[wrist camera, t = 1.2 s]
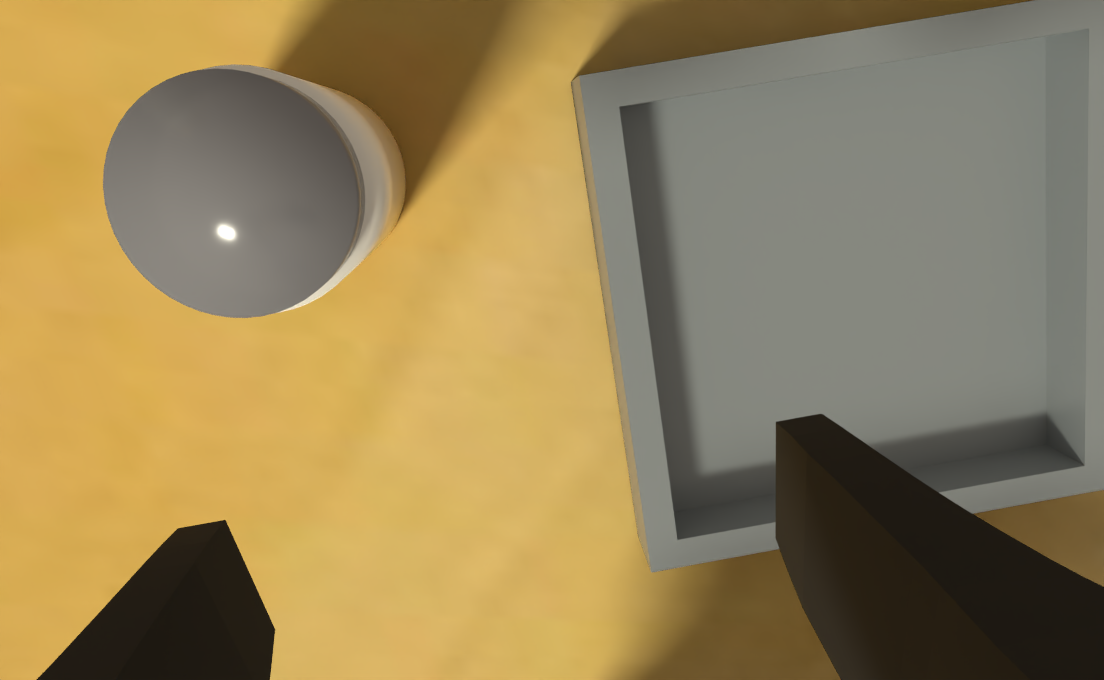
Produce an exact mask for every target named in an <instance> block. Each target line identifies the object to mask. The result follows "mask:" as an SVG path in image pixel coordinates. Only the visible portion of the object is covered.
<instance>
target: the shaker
mask: <svg viewBox="0 0 1104 680" xmlns="http://www.w3.org/2000/svg"><path fill="white" fill-rule="evenodd" d="M103 189H104V199H105V205H106V209H107V214H108V218H109V221H110V224H111V226H112V229H113V232H114V234H115V236H116V238H117V240H118V242H119V244H120V246H121V248H122V250H123V251H124V252H125V254H126V255H127V257H128V258H129V260H130V261H131V263H132V264H133V265H134V266H135V267H136V268H137V270H138V271H139V272H140V273H141V274H142V275H143V276H144V277H145V278H146V279H147V280H148V281H149V282H150V283H151V284H153V285H154V286H155V287H156V288H157V289H159V290H160V291H162V292H163V293H164V294H166V295H167V296H169V297H170V298H172V299H174V300H176V301H178V302H180V303H181V304H183V305H186V306H188V307H191V308H193V309H195V310H198V311H201V312H205V313H209V314H212V315H217V316H224V317H233V318H249V317H259V316H265V315H269V314H273V313H279V312H283V311H287V310H292V309H295V308H298V307H300V306H303V305H306V304H308V303H310V302H312V301H314V300H316V299H318V298H319V297H321V296H323V295H324V294H325V293H327V292H328V291H330V290H331V289H332V288H334V287H335V286H336V285H337V284H338V283H339V282H340V281H341V280H343V279H344V278H345V277H346V276H347V275H348V274H349V273H350V272H351V271H352V270H354V269H355V268H356V267H357V266H358V265H359V264H360V263H361V262H362V261H363V260H365V259H366V258H367V257H368V256H369V255H370V254H371V253H372V252H373V251H374V250H376V249H377V248H378V247H379V246H380V245H381V244H382V243H383V242H384V241H385V240H386V238H387V237H388V236H389V234H390V233H391V232H392V230H393V228H394V227H395V225H396V223H397V221H398V219H399V216H400V214H401V211H402V208H403V204H404V200H405V192H406V175H405V168H404V163H403V159H402V155H401V152H400V150H399V147H398V145H397V142H396V140H395V139H394V137H393V135H392V133H391V132H390V130H389V129H388V127H387V126H386V125H385V123H384V122H383V121H382V120H381V119H380V118H379V117H378V116H377V114H376V113H375V112H374V111H372V110H371V109H370V108H369V107H367V106H366V105H365V104H364V103H362V102H360V101H359V100H357V99H356V98H354V97H352V96H350V95H348V94H346V93H343V92H341V91H338V90H334V89H331V88H328V87H325V86H322V85H319V84H315V83H312V82H309V81H306V80H303V79H300V78H297V77H293V76H290V75H287V74H284V73H281V72H277V71H274V70H271V69H268V68H263V67H257V66H251V65H224V66H215V67H211V68H206V69H202V70H197V71H192V72H188V73H184V74H180V75H178V76H175V77H173V78H170V79H168V80H166V81H164V82H162V83H160V84H159V85H157V86H155V87H153V88H152V89H150V90H149V91H148V92H147V93H145V94H144V95H143V96H141V97H140V98H139V99H138V100H137V101H136V102H135V103H134V104H133V105H132V106H131V107H130V109H129V110H128V111H127V112H126V114H125V115H124V117H123V118H122V120H121V121H120V122H119V124H118V126H117V128H116V130H115V132H114V134H113V136H112V138H111V141H110V144H109V147H108V150H107V154H106V160H105V165H104V177H103Z"/></svg>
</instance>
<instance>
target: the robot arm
mask: <svg viewBox="0 0 1104 680" xmlns="http://www.w3.org/2000/svg"><path fill="white" fill-rule="evenodd" d="M775 538H776V541H777V543H778V546H779V549H780V551H781V554H782V557H783V559H784V562H785V564H786V567H787V570H788V572H789V575H790V577H791V580H792V582H793V585H794V587H795V590H796V592H797V595H798V597H799V600H800V602H801V605H802V607H803V609H804V611H805V613H806V615H807V617H808V619H809V621H810V622H811V624H812V626H813V628H814V630H815V632H816V634H817V636H818V638H819V639H820V641H821V643H822V645H823V647H824V649H825V651H826V652H827V654H828V656H829V658H830V660H831V662H832V664H833V666H834V667H835V669H836V671H837V673H838V675H839V677H840V678H841V680H1104V587H1103V586H1101V585H1098V584H1096V583H1094V582H1092V581H1090V580H1088V579H1086V578H1084V577H1082V576H1081V575H1079V574H1077V573H1075V572H1073V571H1071V570H1069V569H1067V568H1066V567H1064V566H1062V565H1060V564H1058V563H1056V562H1054V561H1052V560H1051V559H1049V558H1047V557H1045V556H1044V555H1042V554H1040V553H1038V552H1037V551H1035V550H1033V549H1031V548H1030V547H1028V546H1026V545H1024V544H1023V543H1021V542H1019V541H1017V540H1016V539H1014V538H1012V537H1010V536H1009V535H1007V534H1005V533H1004V532H1002V531H1000V530H998V529H997V528H995V527H993V526H992V525H990V524H988V523H987V522H985V521H983V520H982V519H980V518H978V517H977V516H975V515H974V514H972V513H970V512H969V511H967V510H965V509H964V508H962V507H961V506H959V505H957V504H956V503H954V502H953V501H951V500H950V499H948V498H946V497H945V496H943V495H942V494H940V493H939V492H937V491H936V490H934V489H932V488H931V487H929V486H928V485H926V484H925V483H923V482H922V481H920V480H919V479H917V478H916V477H914V476H913V475H911V474H910V473H908V472H907V471H905V470H904V469H902V468H901V467H899V466H898V465H896V464H895V463H893V462H892V461H891V460H889V459H888V458H886V457H885V456H883V455H882V454H880V453H879V452H877V451H876V450H874V449H873V448H872V447H870V446H869V445H867V444H866V443H864V442H863V441H861V440H860V439H859V438H857V437H856V436H854V435H853V434H851V433H850V432H848V431H847V430H845V429H844V428H843V427H841V426H840V425H838V424H837V423H835V422H834V421H832V420H831V419H829V418H828V417H826V416H825V415H823V414H816V415H811V416H805V417H799V418H794V419H788V420H783V421H777V422H776V523H775ZM274 634H275V628H274V626H273V624H272V622H271V620H270V617H269V615H268V613H267V611H266V609H265V606H264V604H263V602H262V600H261V598H260V595H259V593H258V591H257V589H256V587H255V584H254V582H253V580H252V578H251V576H250V573H249V571H248V569H247V567H246V564H245V562H244V560H243V558H242V556H241V553H240V551H239V549H238V547H237V545H236V542H235V540H234V538H233V536H232V534H231V531H230V529H229V527H228V525H227V523H226V520H223V521H217V522H211V523H206V524H200V525H195V526H189V527H183V528H178V529H177V530H176V531H175V532H174V533H173V534H172V535H171V536H170V537H169V538H168V539H167V540H166V541H165V542H164V543H163V544H162V545H161V546H160V547H159V548H158V549H157V550H156V551H155V552H154V554H153V555H152V556H151V557H150V558H149V559H148V560H147V561H146V562H145V563H144V564H143V565H142V567H141V568H140V569H139V570H138V571H137V572H136V573H135V574H134V575H133V576H132V577H131V579H130V580H129V581H128V582H127V583H126V584H125V585H124V586H123V587H122V588H121V590H120V591H119V592H118V593H117V594H116V595H115V596H114V597H113V598H112V599H111V601H110V602H109V603H108V604H107V605H106V606H105V607H104V608H103V609H102V610H101V612H100V613H99V614H98V615H97V616H96V617H95V618H94V619H93V620H92V621H91V622H90V623H89V624H88V626H87V627H86V628H85V629H84V630H83V631H82V632H81V633H80V634H79V635H78V636H77V637H76V639H75V640H74V641H73V642H72V643H71V644H70V645H69V646H68V647H67V648H66V649H65V650H64V651H63V653H62V654H61V655H60V656H59V657H58V658H57V659H56V660H55V661H54V662H53V663H52V664H51V665H50V666H49V668H48V669H47V670H46V671H45V672H44V673H43V674H42V675H41V676H40V677H39V678H38V679H37V680H270V673H271V664H272V654H273V644H274Z"/></svg>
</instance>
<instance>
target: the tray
mask: <svg viewBox="0 0 1104 680" xmlns="http://www.w3.org/2000/svg"><path fill="white" fill-rule="evenodd" d="M571 87H572V93H573V100H574V107H575V114H576V120H577V127H578V134H579V141H580V147H581V154H582V161H583V168H584V174H585V181H586V188H587V194H588V201H589V208H590V215H591V221H592V228H593V235H594V242H595V248H596V255H597V262H598V269H599V275H600V282H601V289H602V296H603V302H604V309H605V316H606V323H607V329H608V336H609V343H610V350H611V356H612V363H613V370H614V377H615V383H616V390H617V397H618V404H619V410H620V417H621V424H622V430H623V437H624V444H625V451H626V457H627V464H628V471H629V478H630V484H631V491H632V498H633V505H634V511H635V518H636V525H637V532H638V537H639V540H640V542H641V545H642V548H643V551H644V554H645V556H646V559H647V562H648V565H649V567H650V570H651V572H657V571H662V570H668V569H673V568H679V567H684V566H690V565H695V564H701V563H706V562H712V561H717V560H722V559H728V558H733V557H739V556H744V555H750V554H755V553H761V552H766V551H772V550H777V549H779V546H778V543H777V541H776V538H775V523H776V422H777V421H783V420H788V419H794V418H799V417H805V416H811V415H816V414H823V415H825V416H826V417H828V418H829V419H831V420H832V421H834V422H835V423H837V424H838V425H840V426H841V427H843V428H844V429H845V430H847V431H848V432H850V433H851V434H853V435H854V436H856V437H857V438H859V439H860V440H861V441H863V442H864V443H866V444H867V445H869V446H870V447H872V448H873V449H874V450H876V451H877V452H879V453H880V454H882V455H883V456H885V457H886V458H888V459H889V460H891V461H892V462H893V463H895V464H896V465H898V466H899V467H901V468H902V469H904V470H905V471H907V472H908V473H910V474H911V475H913V476H914V477H916V478H917V479H919V480H920V481H922V482H923V483H925V484H926V485H928V486H929V487H931V488H932V489H934V490H936V491H937V492H939V493H940V494H942V495H943V496H945V497H946V498H948V499H950V500H951V501H953V502H954V503H956V504H957V505H959V506H961V507H962V508H964V509H965V510H967V511H969V512H970V513H972V514H974V513H979V512H985V511H990V510H996V509H1001V508H1007V507H1012V506H1018V505H1023V504H1029V503H1034V502H1040V501H1045V500H1050V499H1056V498H1061V497H1067V496H1072V495H1078V494H1083V493H1089V492H1094V491H1100V490H1104V0H1034V1H1028V2H1021V3H1015V4H1009V5H1003V6H997V7H991V8H985V9H979V10H973V11H967V12H961V13H955V14H949V15H943V16H937V17H931V18H925V19H919V20H913V21H907V22H901V23H895V24H889V25H883V26H877V27H871V28H864V29H858V30H852V31H846V32H840V33H834V34H828V35H822V36H816V37H810V38H804V39H798V40H792V41H786V42H780V43H774V44H768V45H762V46H756V47H750V48H744V49H738V50H732V51H726V52H720V53H713V54H707V55H701V56H695V57H689V58H683V59H677V60H671V61H665V62H659V63H653V64H647V65H641V66H635V67H629V68H623V69H617V70H611V71H605V72H599V73H593V74H587V75H581V76H578V77H577V78H575V79H574V80H573V81H572V82H571Z"/></svg>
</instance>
